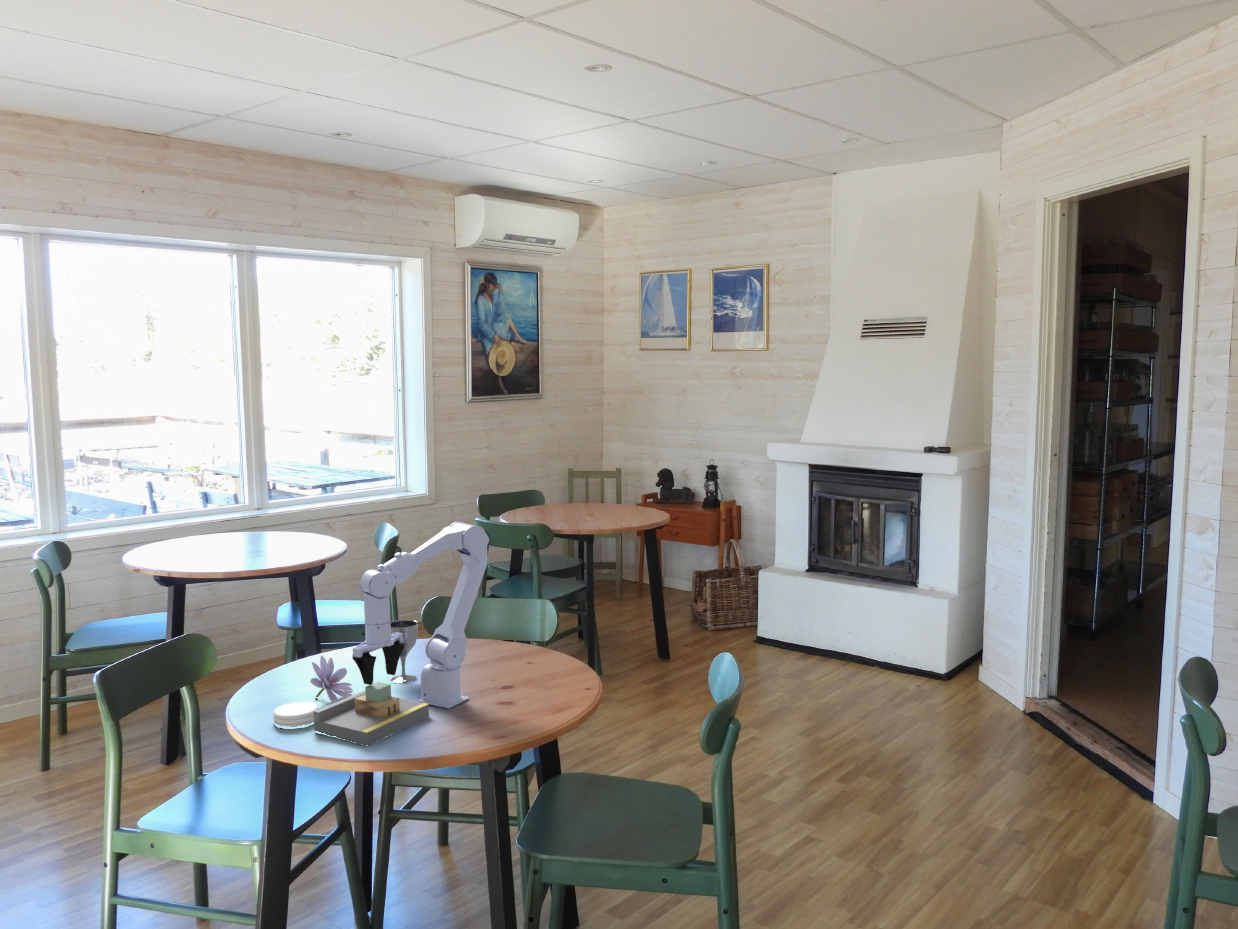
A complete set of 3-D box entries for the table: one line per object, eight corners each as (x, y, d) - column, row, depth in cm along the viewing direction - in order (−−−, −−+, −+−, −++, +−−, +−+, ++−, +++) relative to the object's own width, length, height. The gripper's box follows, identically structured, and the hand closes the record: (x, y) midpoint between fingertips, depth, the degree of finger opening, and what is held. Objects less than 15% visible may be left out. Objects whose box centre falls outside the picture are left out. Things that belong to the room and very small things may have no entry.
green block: (365, 699, 214) (365, 687, 214) (378, 694, 218) (377, 681, 217) (378, 702, 212) (378, 689, 212) (391, 697, 216) (390, 684, 215)
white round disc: (266, 723, 217) (265, 708, 217) (307, 712, 224) (306, 697, 224) (285, 734, 210) (284, 719, 210) (327, 722, 217) (326, 708, 217)
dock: (314, 733, 210) (313, 711, 210) (377, 705, 227) (377, 685, 227) (367, 746, 202) (366, 724, 202) (429, 716, 220) (428, 696, 219)
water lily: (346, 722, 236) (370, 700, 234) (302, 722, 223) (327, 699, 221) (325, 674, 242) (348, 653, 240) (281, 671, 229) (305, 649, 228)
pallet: (354, 711, 215) (354, 698, 215) (370, 704, 220) (370, 692, 219) (384, 717, 211) (383, 704, 211) (399, 710, 215) (399, 698, 215)
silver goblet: (421, 682, 245) (420, 625, 243) (390, 685, 242) (388, 628, 240) (416, 673, 252) (414, 618, 251) (386, 676, 249) (384, 621, 248)
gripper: (368, 631, 209) (370, 691, 210) (412, 616, 221) (414, 672, 223) (344, 628, 212) (347, 686, 213) (389, 613, 225) (391, 668, 226)
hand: (379, 679), depth 218 cm, fingers open, 7 cm apart
